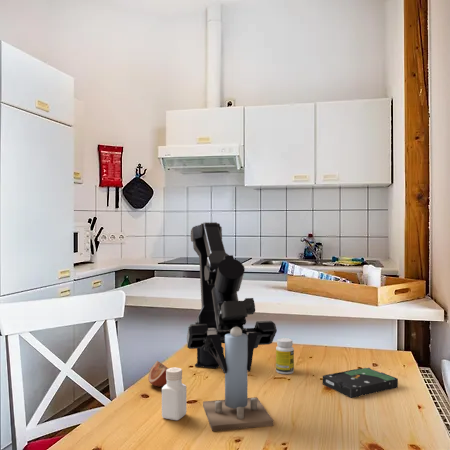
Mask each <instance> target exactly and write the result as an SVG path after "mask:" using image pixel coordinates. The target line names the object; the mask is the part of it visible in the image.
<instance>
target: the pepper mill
mask: <svg viewBox="0 0 450 450" xmlns="http://www.w3.org/2000/svg"><path fill="white" fill-rule="evenodd" d="M224 357H225V361H226V366H227V373H224V400H225V405H226V406H227V407H230V408H237V407H240V406H241V407H246V406H247V398H248V370H247V334H244V333H242V330H241V329H240V328H239V327H233V328H232V329H231V331H230V333H228V334H226V335H225V343H224Z"/></svg>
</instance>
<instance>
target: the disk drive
mask: <svg viewBox="0 0 450 450" xmlns="http://www.w3.org/2000/svg"><path fill="white" fill-rule="evenodd" d="M322 385H324V386H325V387H327V388H329V389H331V390H333V391H335V392H336V393H339V394H341V395H344V396H346V397H347V398H350V399H355V398H359V396H360V397H362V396H367V395H371V394H376V392H377V393H380V392H384V391H388V390H394V389H398V388H399V378H397V377H394V376H392V375H390V374H386V373H384V372H383V371H382V372H380V371H378V370H374V369H371V367H363V368H362V367H359V368H356V369H350V370H349V369H348V370H345V371H341V372H336V373H329V374H325V375H322Z"/></svg>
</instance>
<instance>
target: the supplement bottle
mask: <svg viewBox="0 0 450 450" xmlns="http://www.w3.org/2000/svg"><path fill="white" fill-rule="evenodd" d="M276 341H277V342H276V343H277V346H276V347H275V371H276V373H278V374H281V375H290V374H293V373H294V372H295V348H294V347H293V343H294V342H293V339H291V338H288V337H287V338H286V337H281V338H278V339H277V340H276Z"/></svg>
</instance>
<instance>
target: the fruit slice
mask: <svg viewBox="0 0 450 450" xmlns="http://www.w3.org/2000/svg"><path fill="white" fill-rule="evenodd" d="M169 368H170V367H167V366H166V365H165V364H164V363H161V362H160V361H159V360H156V361H155V363H154V364H153V365H152V366H151V367H150V370H149V373H148V377H147V378H148V382H149V384H150V385H152V386H154V387H158V388H159V387H161V388H162V387H163V386H165V385H166V384H167V380H166V370H167V369H169Z"/></svg>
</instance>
